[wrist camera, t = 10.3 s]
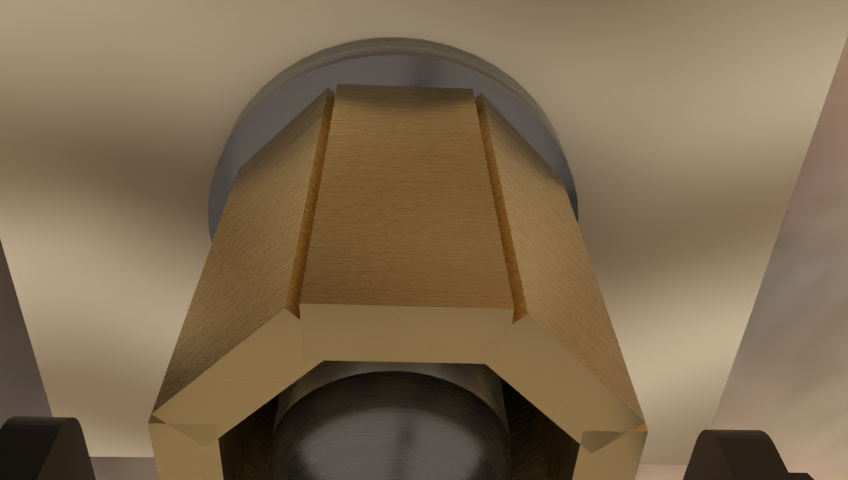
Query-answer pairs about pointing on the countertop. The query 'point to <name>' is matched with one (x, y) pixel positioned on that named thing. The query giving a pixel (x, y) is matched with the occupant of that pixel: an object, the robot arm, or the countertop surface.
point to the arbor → (387, 381)
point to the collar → (398, 286)
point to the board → (418, 19)
